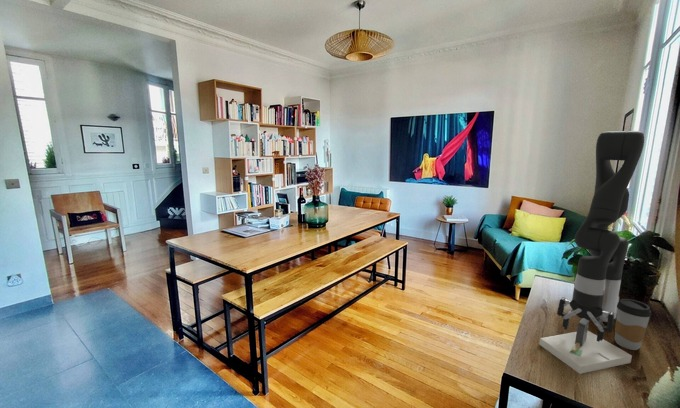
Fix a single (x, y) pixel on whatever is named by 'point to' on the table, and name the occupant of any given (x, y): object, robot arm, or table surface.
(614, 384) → the table surface
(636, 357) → the table surface
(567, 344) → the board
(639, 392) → the table surface
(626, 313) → the coffee cup
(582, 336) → the dark gray beam
